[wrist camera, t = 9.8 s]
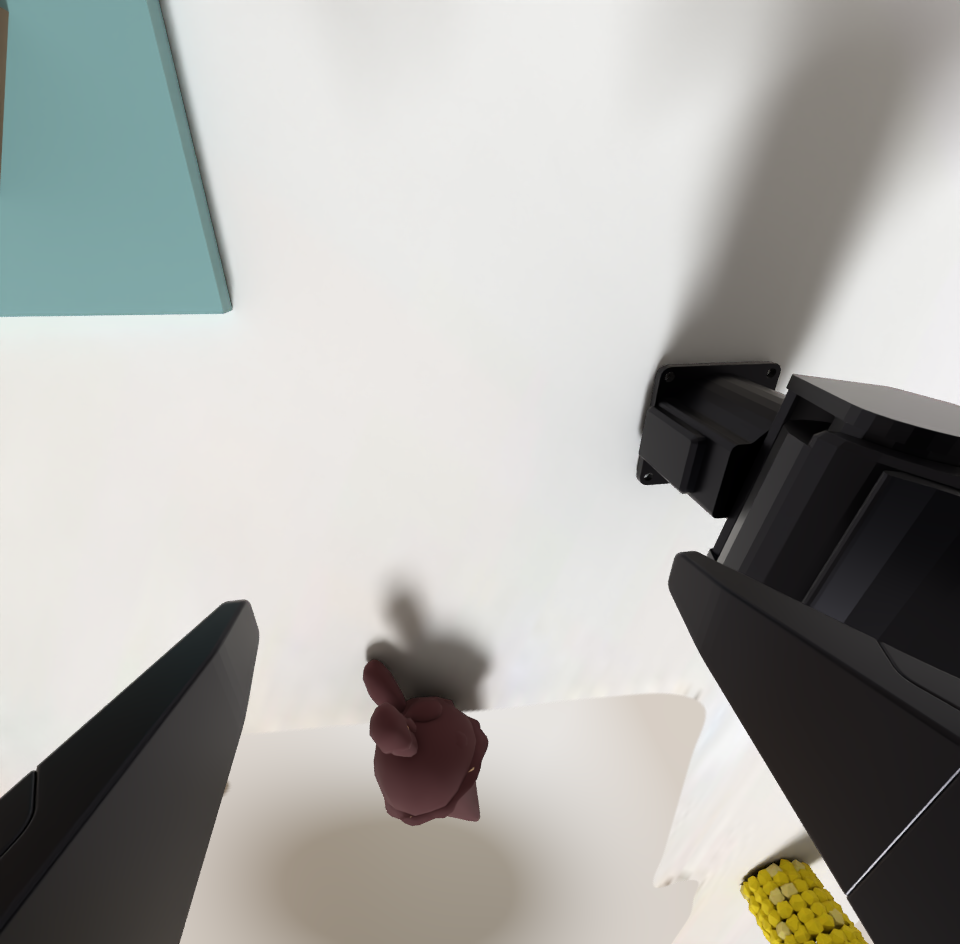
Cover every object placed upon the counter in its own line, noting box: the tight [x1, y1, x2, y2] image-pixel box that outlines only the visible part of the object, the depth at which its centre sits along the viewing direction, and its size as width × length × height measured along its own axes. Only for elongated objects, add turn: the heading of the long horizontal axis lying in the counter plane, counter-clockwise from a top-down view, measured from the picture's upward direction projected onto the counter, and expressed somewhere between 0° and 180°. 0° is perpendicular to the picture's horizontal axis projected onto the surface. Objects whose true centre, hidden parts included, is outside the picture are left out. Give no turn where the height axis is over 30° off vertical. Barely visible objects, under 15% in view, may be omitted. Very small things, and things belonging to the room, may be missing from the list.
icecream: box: [363, 659, 488, 826], centre depth 28 cm, size 7×7×15 cm
